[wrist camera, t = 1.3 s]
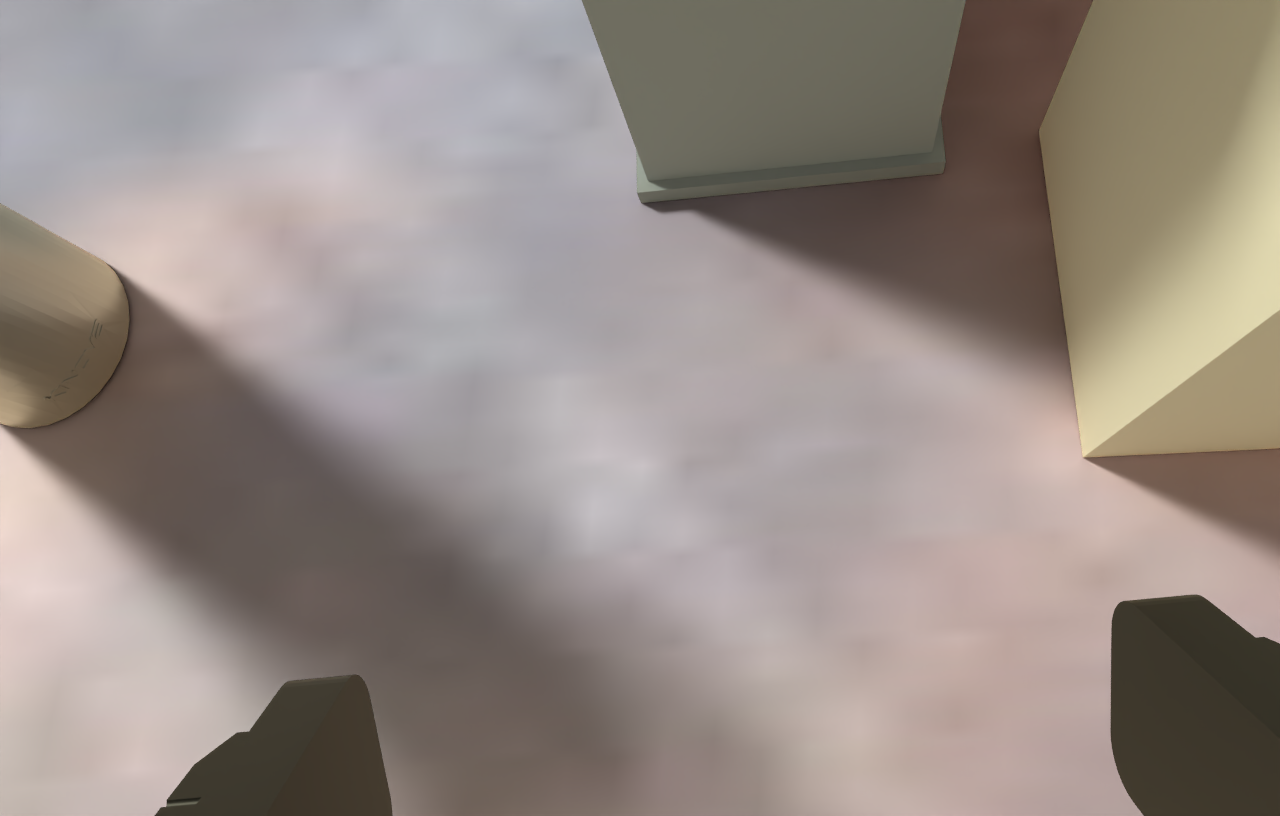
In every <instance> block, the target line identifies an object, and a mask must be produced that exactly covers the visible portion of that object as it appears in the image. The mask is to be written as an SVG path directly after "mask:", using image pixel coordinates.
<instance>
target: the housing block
mask: <svg viewBox="0 0 1280 816" xmlns="http://www.w3.org/2000/svg"><path fill="white" fill-rule="evenodd" d="M1039 137H1040V144H1041V152H1042V159H1043V166H1044V174H1045V181H1046V189H1047V196H1048V203H1049V211H1050V218H1051V225H1052V233H1053V240H1054V248H1055V255H1056V262H1057V270H1058V277H1059V285H1060V292H1061V299H1062V307H1063V314H1064V322H1065V329H1066V336H1067V344H1068V351H1069V358H1070V366H1071V373H1072V381H1073V388H1074V395H1075V403H1076V410H1077V418H1078V425H1079V432H1080V440H1081V447H1082V455H1083V458H1085V457H1106V456H1128V455H1149V454H1170V453H1192V452H1213V451H1234V450H1256V449H1277V448H1280V0H1093V2H1092V4H1091V7H1090V9H1089V12H1088V14H1087V16H1086V19H1085V21H1084V24H1083V26H1082V28H1081V31H1080V33H1079V36H1078V38H1077V40H1076V43H1075V45H1074V48H1073V50H1072V52H1071V55H1070V57H1069V60H1068V62H1067V65H1066V67H1065V69H1064V72H1063V74H1062V77H1061V79H1060V81H1059V84H1058V86H1057V89H1056V91H1055V93H1054V96H1053V98H1052V101H1051V103H1050V105H1049V108H1048V110H1047V113H1046V115H1045V117H1044V120H1043V122H1042V125H1041V127H1040V129H1039Z"/></svg>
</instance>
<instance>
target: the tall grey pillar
mask: <svg viewBox="0 0 1280 816" xmlns="http://www.w3.org/2000/svg"><path fill="white" fill-rule="evenodd" d="M582 2H583V5H584V7H585V10H586V13H587V16H588V18H589V21H590V24H591V26H592V29H593V32H594V35H595V37H596V40H597V43H598V46H599V48H600V51H601V54H602V57H603V59H604V62H605V65H606V67H607V70H608V73H609V76H610V78H611V81H612V84H613V87H614V89H615V92H616V95H617V98H618V100H619V103H620V106H621V109H622V111H623V114H624V117H625V119H626V122H627V125H628V128H629V130H630V133H631V136H632V139H633V141H634V144H635V147H636V153H637V194H638V196H639V199H640V201H641V203H648V202H658V201H669V200H679V199H689V198H699V197H709V196H719V195H730V194H740V193H750V192H760V191H770V190H780V189H791V188H801V187H811V186H821V185H831V184H842V183H852V182H862V181H872V180H882V179H892V178H903V177H913V176H923V175H933V174H943V171H944V167H945V163H946V159H945V149H944V140H943V131H942V121H941V110H942V106H943V101H944V97H945V92H946V88H947V83H948V79H949V74H950V69H951V65H952V60H953V56H954V51H955V47H956V42H957V38H958V33H959V29H960V24H961V20H962V15H963V11H964V6H965V2H966V0H582Z"/></svg>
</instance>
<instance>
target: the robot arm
mask: <svg viewBox="0 0 1280 816" xmlns="http://www.w3.org/2000/svg"><path fill="white" fill-rule="evenodd" d="M129 321H130V319H129V306H128V300H127V296H126V293H125V290H124V287H123V284H122V283H121V281H120V279H119V278H118V276H117V275H116V273H115V271H114V270H112V269H111V268H110V267H109V266H108V265H107V264H106V263H105V262H104V261H103V260H101V259H99V258H97V257H96V256H94V255H92V254H90V253H88V252H87V251H85V250H83V249H81V248H79V247H78V246H76V245H74V244H72V243H70V242H69V241H67V240H65V239H63V238H61V237H60V236H58V235H56V234H54V233H52V232H51V231H49V230H47V229H45V228H43V227H42V226H40V225H38V224H37V223H35V222H33V221H32V220H30V219H28V218H26V217H24V216H22V215H21V214H19V213H17V212H15V211H13V210H12V209H10V208H8V207H6V206H4V205H2V204H1V203H0V424H4V425H7V426H11V427H19V428H34V427H40V426H46V425H50V424H52V423H55V422H57V421H60V420H62V419H65V418H67V417H69V416H70V415H72V414H73V413H75V412H76V411H78V410H80V409H81V408H83V407H84V406H85V405H86V404H87V403H88V402H89V401H90V400H91V399H93V398H94V397H95V396H96V395H97V394H98V393H99V392H100V390H101V389H102V388H103V387H104V385H105V384H106V383H107V381H108V380H109V379H110V377H111V376H112V374H113V372H114V370H115V368H116V367H117V365H118V363H119V361H120V359H121V356H122V353H123V350H124V347H125V344H126V341H127V336H128V328H129ZM1111 743H1112V750H1113V755H1114V759H1115V763H1116V766H1117V770H1118V773H1119V775H1120V778H1121V780H1122V783H1123V785H1124V787H1125V789H1126V791H1127V793H1128V795H1129V796H1130V798H1131V799H1132V801H1133V802H1134V803H1135V805H1136V806H1137V807H1138V809H1139V810H1140V811H1141V813H1142V814H1143V815H1144V816H1280V644H1279V643H1277V642H1275V641H1272V640H1270V639H1268V638H1265V637H1259V638H1255V637H1254V636H1253V635H1251V634H1250V633H1249V632H1247V631H1246V630H1245V629H1244V628H1242V627H1241V626H1240V625H1239V624H1237V623H1236V622H1235V621H1234V620H1232V619H1231V618H1230V617H1228V616H1227V615H1226V614H1225V613H1223V612H1222V611H1221V610H1220V609H1218V608H1217V607H1216V606H1215V605H1213V604H1212V603H1211V602H1209V601H1208V600H1207V599H1205V598H1204V597H1202V596H1199V595H1184V596H1173V597H1162V598H1152V599H1141V600H1130V601H1123V602H1120V603H1119V604H1118V605H1117V607H1116V608H1115V611H1114V614H1113V618H1112V638H1111ZM155 816H392V805H391V798H390V793H389V788H388V783H387V778H386V773H385V768H384V764H383V759H382V754H381V749H380V744H379V739H378V734H377V729H376V725H375V720H374V715H373V710H372V705H371V700H370V696H369V692H368V689H367V686H366V684H365V682H364V681H363V679H362V678H361V677H360V676H358V675H347V676H337V677H326V678H315V679H305V680H294V681H288V682H286V683H285V684H284V685H283V686H282V687H281V688H280V690H279V691H278V692H277V694H276V695H275V696H274V698H273V699H272V701H271V702H270V703H269V705H268V706H267V707H266V709H265V710H264V712H263V713H262V714H261V716H260V717H259V719H258V720H257V721H256V723H255V724H254V725H253V727H252V728H251V730H250V731H249V732H239V733H236V734H235V735H233V736H232V737H231V738H229V739H228V740H227V741H225V742H224V743H223V744H221V745H220V746H219V747H217V748H216V749H215V750H213V751H212V752H211V753H209V754H208V755H207V756H205V757H204V758H203V759H201V760H200V761H199V762H197V763H196V764H195V765H194V766H193V767H192V768H191V770H190V771H189V772H188V773H187V775H186V776H185V777H184V779H183V780H182V781H181V782H180V784H179V785H178V786H177V788H176V789H175V790H174V791H173V793H172V794H171V795H170V797H169V798H168V799H167V806H166V807H162V808H160V810H159V811H158V812H157V813H156V815H155Z"/></svg>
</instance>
